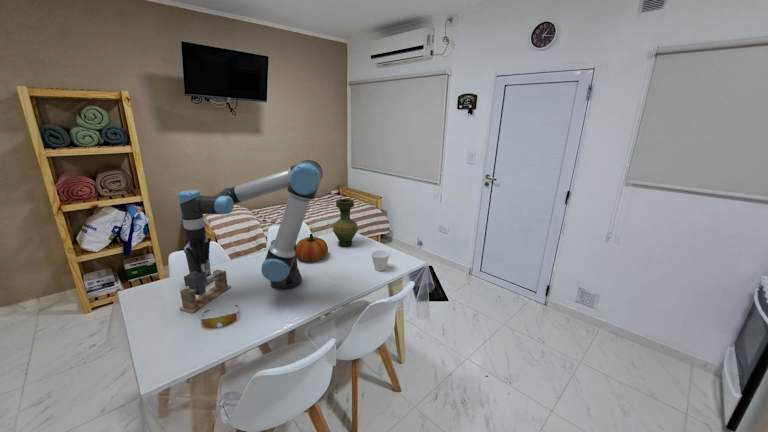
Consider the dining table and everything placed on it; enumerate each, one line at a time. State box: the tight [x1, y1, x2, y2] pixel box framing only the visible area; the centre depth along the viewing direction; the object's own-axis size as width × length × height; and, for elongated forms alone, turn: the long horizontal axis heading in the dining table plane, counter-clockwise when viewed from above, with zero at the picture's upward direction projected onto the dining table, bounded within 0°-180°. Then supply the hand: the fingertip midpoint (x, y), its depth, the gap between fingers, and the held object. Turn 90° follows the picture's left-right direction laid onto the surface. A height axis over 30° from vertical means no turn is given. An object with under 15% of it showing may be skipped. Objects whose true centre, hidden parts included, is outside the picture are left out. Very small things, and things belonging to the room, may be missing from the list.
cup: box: [370, 249, 390, 272], centre depth 172 cm, size 10×10×9 cm
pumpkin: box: [296, 233, 329, 262], centre depth 183 cm, size 19×19×15 cm
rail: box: [179, 269, 232, 314], centre depth 140 cm, size 22×7×9 cm, turn 165°
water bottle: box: [183, 240, 212, 277], centre depth 150 cm, size 10×10×23 cm
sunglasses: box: [200, 304, 240, 329], centre depth 128 cm, size 14×15×5 cm
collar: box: [183, 270, 207, 296], centre depth 134 cm, size 6×5×9 cm
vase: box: [332, 198, 358, 249], centre depth 200 cm, size 16×16×30 cm
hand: (202, 277), depth 137 cm, fingers closed
